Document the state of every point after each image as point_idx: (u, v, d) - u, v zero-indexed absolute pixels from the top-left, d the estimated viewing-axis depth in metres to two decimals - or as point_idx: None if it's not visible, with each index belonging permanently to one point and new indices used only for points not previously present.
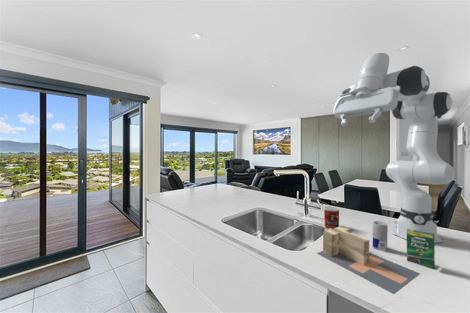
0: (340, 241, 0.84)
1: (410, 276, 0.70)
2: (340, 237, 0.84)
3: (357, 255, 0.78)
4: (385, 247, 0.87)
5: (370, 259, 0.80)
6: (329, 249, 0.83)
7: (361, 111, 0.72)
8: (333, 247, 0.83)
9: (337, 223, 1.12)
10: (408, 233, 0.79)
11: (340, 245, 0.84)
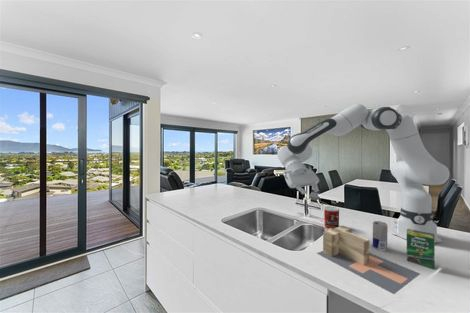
0: (340, 241, 0.84)
1: (410, 276, 0.70)
2: (340, 237, 0.84)
3: (357, 255, 0.78)
4: (385, 247, 0.87)
5: (370, 259, 0.80)
6: (329, 249, 0.83)
7: None
8: (333, 247, 0.83)
9: (337, 223, 1.12)
10: (408, 233, 0.79)
11: (340, 245, 0.84)
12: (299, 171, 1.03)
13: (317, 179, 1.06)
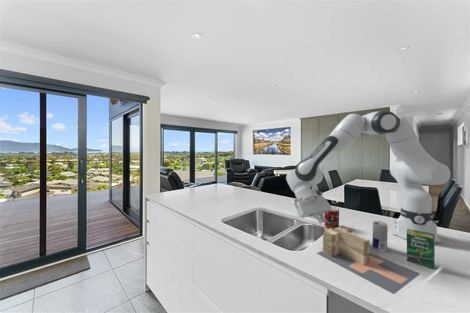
0: (340, 241, 0.84)
1: (410, 276, 0.70)
2: (340, 237, 0.84)
3: (357, 255, 0.78)
4: (385, 247, 0.87)
5: (370, 259, 0.80)
6: (329, 249, 0.83)
7: None
8: (333, 247, 0.83)
9: (337, 223, 1.12)
10: (408, 233, 0.79)
11: (340, 245, 0.84)
12: (310, 199, 0.98)
13: (329, 206, 1.00)
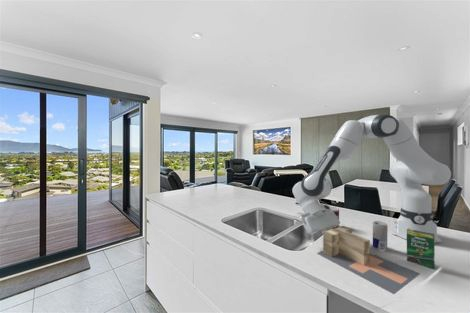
0: (340, 241, 0.84)
1: (410, 276, 0.70)
2: (341, 238, 0.84)
3: (357, 255, 0.78)
4: (385, 247, 0.87)
5: (370, 259, 0.80)
6: (329, 249, 0.83)
7: None
8: (333, 247, 0.83)
9: None
10: (408, 233, 0.79)
11: (340, 245, 0.84)
12: (318, 214, 0.94)
13: (338, 221, 0.97)
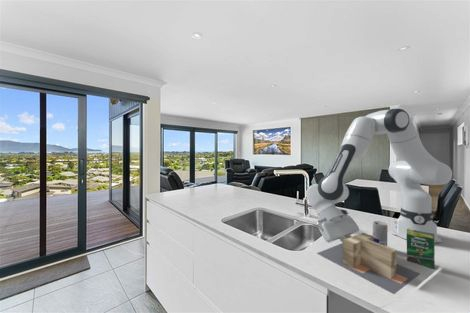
0: (362, 250, 0.76)
1: (410, 276, 0.70)
2: (362, 246, 0.76)
3: (383, 266, 0.70)
4: None
5: None
6: (350, 259, 0.76)
7: None
8: (354, 257, 0.75)
9: None
10: (408, 233, 0.79)
11: (362, 255, 0.77)
12: (336, 219, 0.86)
13: (357, 227, 0.89)
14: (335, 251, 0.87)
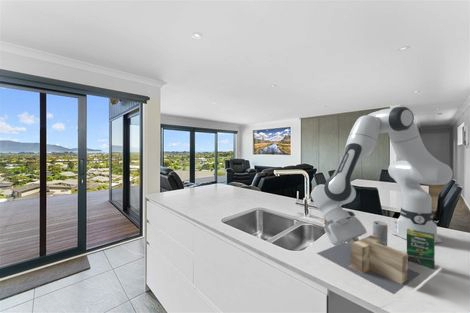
0: (371, 254, 0.74)
1: (410, 276, 0.70)
2: (371, 250, 0.74)
3: (393, 271, 0.68)
4: None
5: None
6: (359, 263, 0.73)
7: None
8: (363, 261, 0.72)
9: None
10: (408, 233, 0.79)
11: (371, 259, 0.74)
12: (342, 221, 0.84)
13: (364, 229, 0.86)
14: (335, 251, 0.87)
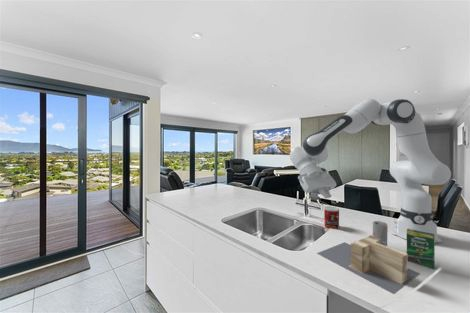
0: (371, 254, 0.74)
1: (410, 276, 0.70)
2: (371, 250, 0.74)
3: (393, 271, 0.68)
4: None
5: None
6: (359, 263, 0.73)
7: None
8: (363, 261, 0.72)
9: (337, 223, 1.12)
10: (408, 233, 0.79)
11: (371, 259, 0.74)
12: (315, 174, 0.95)
13: (334, 183, 0.98)
14: (335, 251, 0.87)
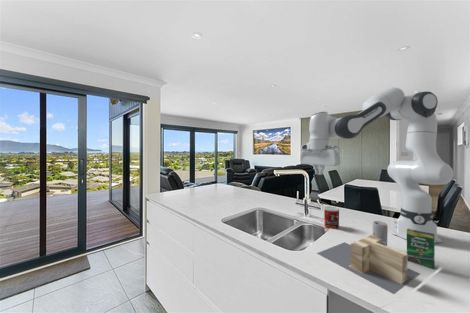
0: (371, 254, 0.74)
1: (410, 276, 0.70)
2: (371, 250, 0.74)
3: (393, 271, 0.68)
4: None
5: None
6: (359, 263, 0.73)
7: None
8: (363, 261, 0.72)
9: (337, 223, 1.12)
10: (408, 233, 0.79)
11: (371, 259, 0.74)
12: None
13: None
14: (335, 251, 0.87)
